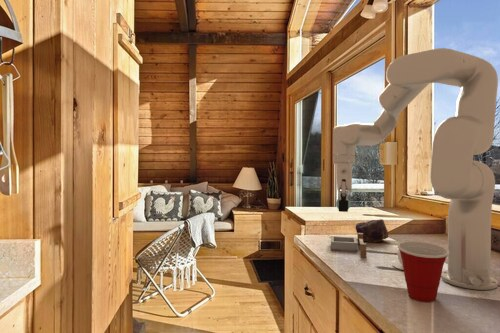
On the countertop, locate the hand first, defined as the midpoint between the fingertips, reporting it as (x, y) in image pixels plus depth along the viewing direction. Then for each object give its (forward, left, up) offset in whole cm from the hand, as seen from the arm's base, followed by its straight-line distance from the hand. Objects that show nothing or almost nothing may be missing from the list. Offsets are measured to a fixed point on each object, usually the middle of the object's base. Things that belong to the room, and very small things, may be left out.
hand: (343, 209), depth 128 cm
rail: (-3, -6, -14) cm, 15 cm away
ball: (0, 0, 0) cm, 0 cm away
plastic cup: (-43, -17, -14) cm, 49 cm away
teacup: (-19, -19, -14) cm, 30 cm away
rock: (+12, -11, -14) cm, 22 cm away
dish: (0, 0, -14) cm, 14 cm away
